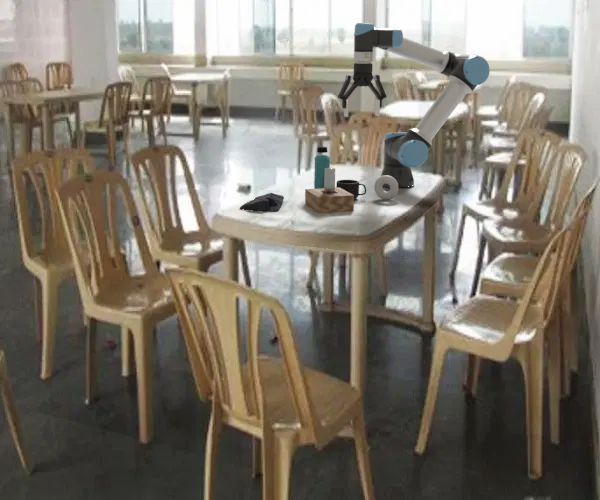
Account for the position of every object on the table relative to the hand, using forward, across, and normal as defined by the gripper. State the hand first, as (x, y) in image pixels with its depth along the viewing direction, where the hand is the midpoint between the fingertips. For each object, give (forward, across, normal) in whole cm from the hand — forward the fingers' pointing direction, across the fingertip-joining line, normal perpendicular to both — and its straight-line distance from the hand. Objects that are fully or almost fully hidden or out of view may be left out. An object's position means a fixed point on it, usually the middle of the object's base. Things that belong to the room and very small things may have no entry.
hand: (361, 116), depth 342 cm
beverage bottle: (+32, -17, -1) cm, 36 cm away
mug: (+32, -8, -11) cm, 35 cm away
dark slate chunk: (+32, -45, -14) cm, 57 cm away
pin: (+31, -22, -24) cm, 45 cm away
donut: (+32, +5, -16) cm, 36 cm away
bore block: (+32, -22, -24) cm, 45 cm away
